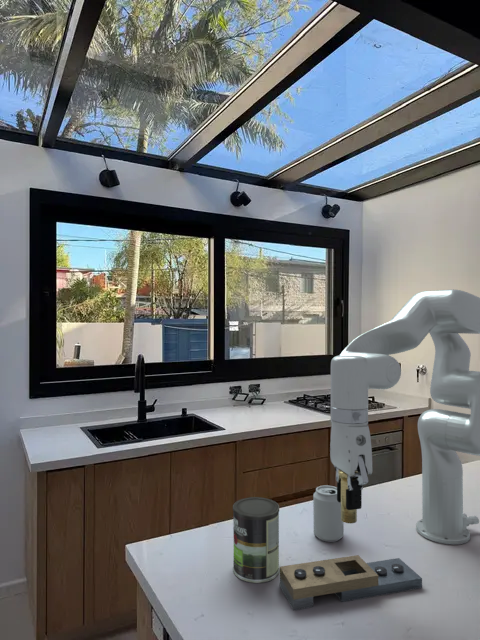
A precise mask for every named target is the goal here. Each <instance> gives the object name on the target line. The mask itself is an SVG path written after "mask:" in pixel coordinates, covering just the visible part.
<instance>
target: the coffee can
mask: <svg viewBox="0 0 480 640" xmlns="http://www.w3.org/2000/svg"><path fill="white" fill-rule="evenodd" d="M232 511H233V520H232V521H233V523H232V525H233V528H232V529H233V567H232V570H233V571H232V572H233V574H234V576H236V577H237V578H238V579H239V580H241V581H243V582H246V583H247V582H248V583H253V584H262V583H268V582H270V581H272V580H274V579H276V578H277V576H278V575H279V574H280V564H279V563H280V562H279V561H280V560H279V559H280V554H279V553H280V549H279V547H280V545H279V542H280V541H279V540H280V538H279V537H280V535H279V533H280V530H279V529H280V519H279V517H280V516H279V515H280V505H279V503H278V502H276V501H275V500H273V499H269V498H266V497H261V496H250V497H245V498H240V499H238V500H237V501H235V502H234V503H233V505H232Z"/></svg>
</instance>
